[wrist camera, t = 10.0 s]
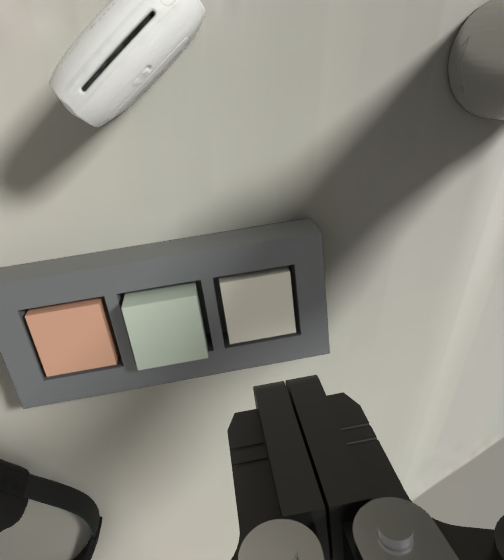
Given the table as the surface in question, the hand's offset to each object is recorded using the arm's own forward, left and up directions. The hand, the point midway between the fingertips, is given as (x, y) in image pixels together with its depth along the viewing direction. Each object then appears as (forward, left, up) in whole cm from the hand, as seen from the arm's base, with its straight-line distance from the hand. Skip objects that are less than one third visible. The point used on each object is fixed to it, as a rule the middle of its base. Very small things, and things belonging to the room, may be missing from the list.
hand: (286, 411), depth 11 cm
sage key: (+6, +12, -29) cm, 32 cm away
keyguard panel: (+6, +12, -32) cm, 35 cm away
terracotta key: (+14, +12, -31) cm, 36 cm away
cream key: (-2, +12, -31) cm, 33 cm away
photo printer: (+4, -9, -32) cm, 34 cm away
